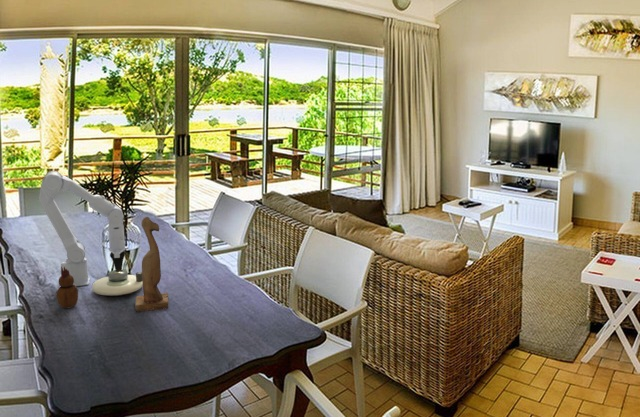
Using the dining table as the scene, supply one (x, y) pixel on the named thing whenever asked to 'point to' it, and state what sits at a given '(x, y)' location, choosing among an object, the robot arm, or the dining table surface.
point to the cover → (117, 275)
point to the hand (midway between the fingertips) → (118, 270)
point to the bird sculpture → (151, 273)
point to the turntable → (118, 285)
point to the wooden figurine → (67, 290)
